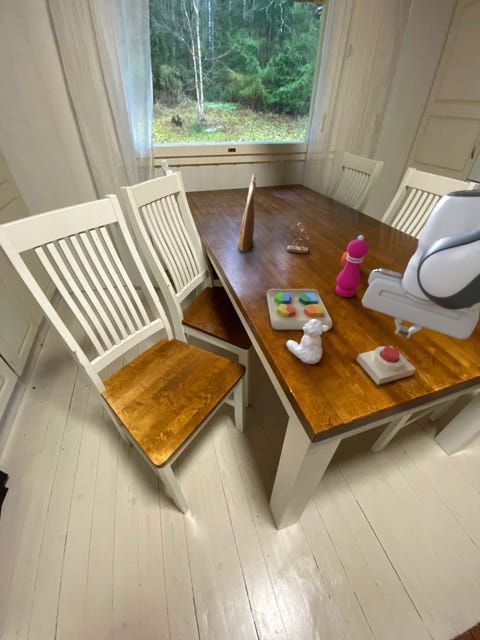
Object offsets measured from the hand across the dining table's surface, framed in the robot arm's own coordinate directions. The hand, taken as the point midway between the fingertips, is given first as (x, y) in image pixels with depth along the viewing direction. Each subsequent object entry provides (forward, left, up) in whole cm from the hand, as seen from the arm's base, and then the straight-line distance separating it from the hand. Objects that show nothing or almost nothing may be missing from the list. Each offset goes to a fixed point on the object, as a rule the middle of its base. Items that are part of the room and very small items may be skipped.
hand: (401, 334), depth 61 cm
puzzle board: (+28, -8, -11) cm, 31 cm away
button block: (0, +1, -11) cm, 11 cm away
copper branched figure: (+47, -48, -11) cm, 68 cm away
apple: (+23, -45, -11) cm, 52 cm away
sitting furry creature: (+17, +8, -11) cm, 22 cm away
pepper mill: (+19, -27, -11) cm, 35 cm away
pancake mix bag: (+68, -40, -11) cm, 80 cm away
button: (0, +1, -7) cm, 7 cm away
